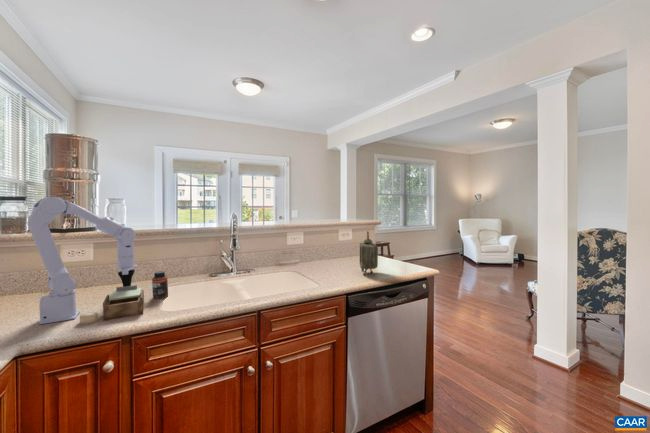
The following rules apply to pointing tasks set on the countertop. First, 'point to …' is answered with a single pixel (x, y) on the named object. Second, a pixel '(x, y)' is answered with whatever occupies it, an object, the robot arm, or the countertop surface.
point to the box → (123, 307)
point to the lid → (125, 292)
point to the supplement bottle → (160, 285)
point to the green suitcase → (368, 255)
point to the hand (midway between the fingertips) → (127, 288)
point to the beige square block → (88, 318)
